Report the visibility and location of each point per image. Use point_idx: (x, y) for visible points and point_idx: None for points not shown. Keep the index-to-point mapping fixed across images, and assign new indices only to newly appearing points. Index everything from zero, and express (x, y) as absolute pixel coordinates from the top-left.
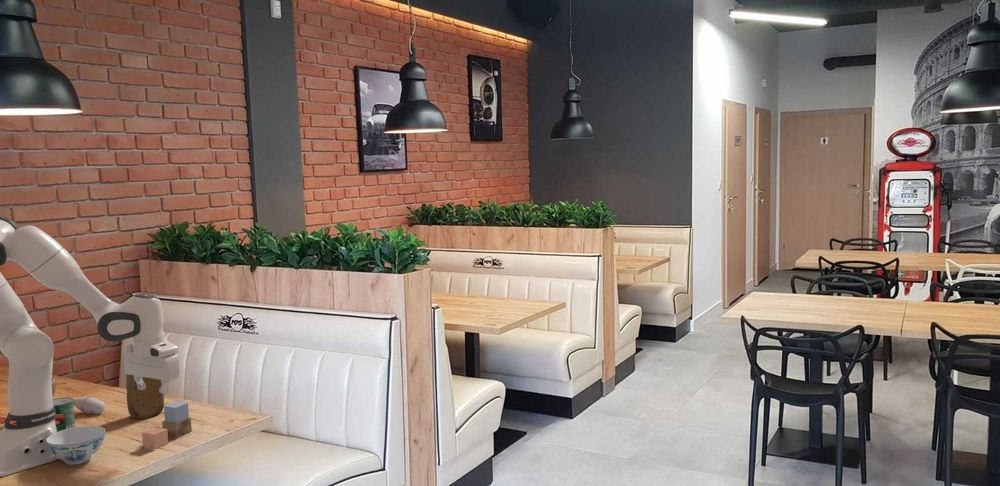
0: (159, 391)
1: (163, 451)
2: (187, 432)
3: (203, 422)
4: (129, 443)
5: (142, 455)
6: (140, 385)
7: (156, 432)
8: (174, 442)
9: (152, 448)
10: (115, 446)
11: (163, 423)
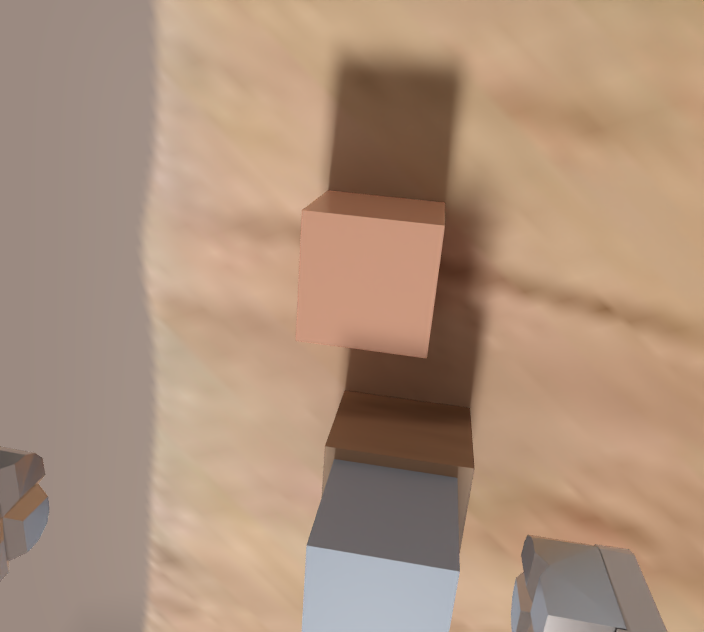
0: (18, 464)
1: (255, 193)
2: None
3: None
4: (614, 240)
5: (335, 83)
6: (554, 602)
7: (319, 258)
8: None
9: (345, 193)
10: (685, 157)
11: (460, 458)
